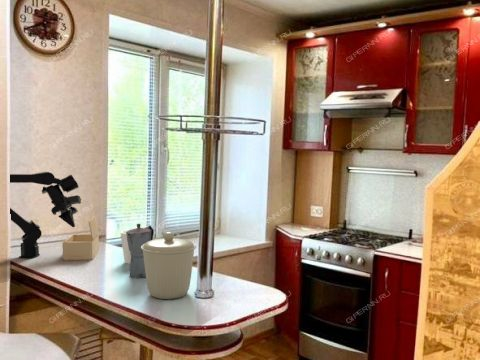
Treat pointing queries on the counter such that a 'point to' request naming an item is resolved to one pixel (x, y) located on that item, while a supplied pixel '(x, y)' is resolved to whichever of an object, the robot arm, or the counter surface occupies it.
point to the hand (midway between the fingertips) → (74, 226)
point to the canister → (168, 266)
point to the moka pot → (138, 249)
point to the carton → (80, 247)
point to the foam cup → (125, 247)
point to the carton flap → (93, 227)
